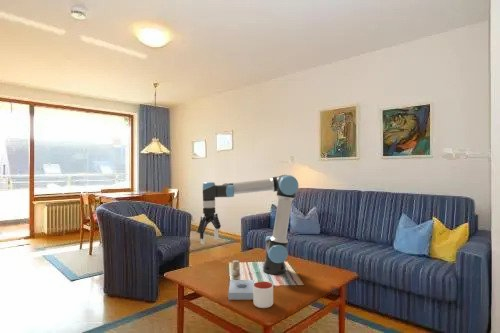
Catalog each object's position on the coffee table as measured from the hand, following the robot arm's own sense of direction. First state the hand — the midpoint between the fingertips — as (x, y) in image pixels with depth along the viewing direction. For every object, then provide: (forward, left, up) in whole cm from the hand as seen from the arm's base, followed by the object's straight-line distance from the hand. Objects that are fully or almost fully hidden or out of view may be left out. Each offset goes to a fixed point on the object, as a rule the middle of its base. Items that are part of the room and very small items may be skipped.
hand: (209, 241), depth 192 cm
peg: (-16, +3, -23) cm, 29 cm away
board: (-20, +20, -23) cm, 37 cm away
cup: (-31, +35, -24) cm, 53 cm away
